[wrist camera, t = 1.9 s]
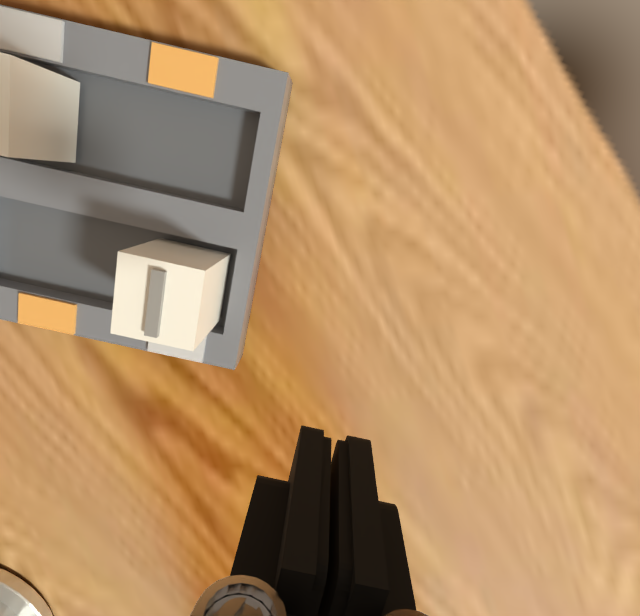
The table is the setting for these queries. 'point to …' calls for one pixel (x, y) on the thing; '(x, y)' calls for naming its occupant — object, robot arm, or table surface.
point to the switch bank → (138, 177)
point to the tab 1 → (37, 112)
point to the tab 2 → (168, 292)
